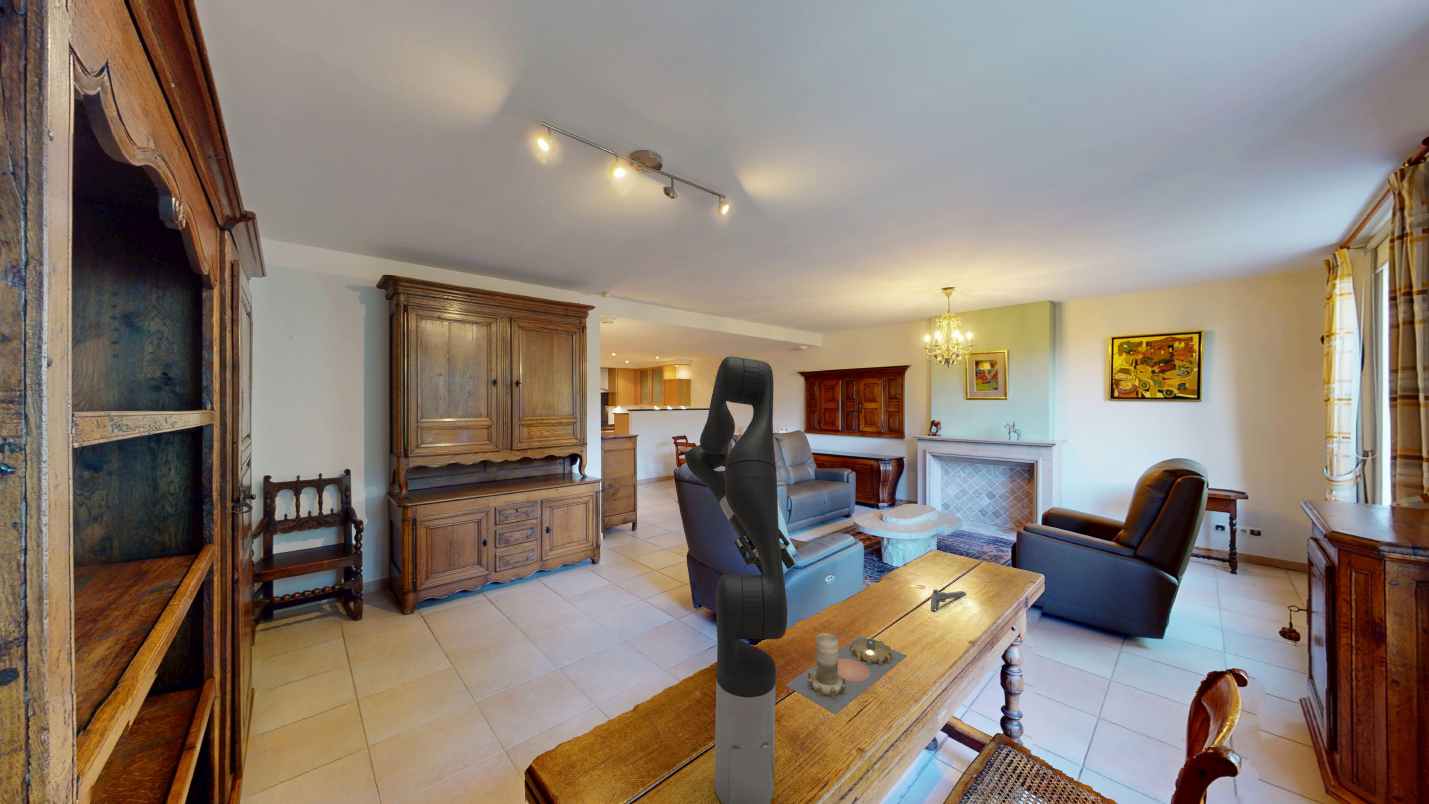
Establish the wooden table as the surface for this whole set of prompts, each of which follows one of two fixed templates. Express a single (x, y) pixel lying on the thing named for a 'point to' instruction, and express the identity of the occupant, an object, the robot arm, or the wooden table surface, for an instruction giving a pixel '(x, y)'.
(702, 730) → the wooden table surface
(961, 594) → the caliper
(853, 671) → the gear board
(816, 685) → the beech gear spindle
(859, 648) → the brass gear
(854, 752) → the wooden table surface
